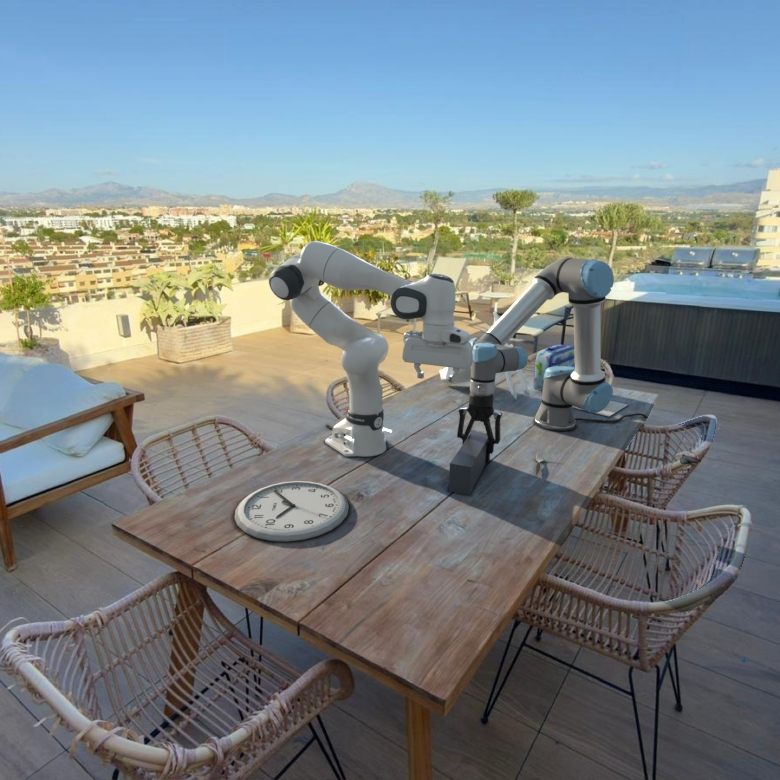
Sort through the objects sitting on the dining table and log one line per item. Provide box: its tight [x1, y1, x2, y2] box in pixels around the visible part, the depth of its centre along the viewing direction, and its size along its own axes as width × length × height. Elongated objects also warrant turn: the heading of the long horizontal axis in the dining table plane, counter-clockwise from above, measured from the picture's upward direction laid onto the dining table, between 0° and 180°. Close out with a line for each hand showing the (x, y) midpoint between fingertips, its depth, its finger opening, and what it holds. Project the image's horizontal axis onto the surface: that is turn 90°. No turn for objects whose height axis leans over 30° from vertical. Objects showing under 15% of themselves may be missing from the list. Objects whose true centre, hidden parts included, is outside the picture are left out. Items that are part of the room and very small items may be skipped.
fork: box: [535, 451, 546, 476], centre depth 168 cm, size 3×16×2 cm, turn 160°
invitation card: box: [573, 400, 629, 418], centre depth 226 cm, size 21×1×15 cm
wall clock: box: [234, 480, 350, 543], centre depth 140 cm, size 30×2×30 cm
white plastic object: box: [438, 310, 531, 400], centre depth 245 cm, size 37×45×31 cm
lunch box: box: [533, 344, 575, 392], centre depth 247 cm, size 26×11×21 cm, turn 134°
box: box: [447, 430, 489, 496], centre depth 161 cm, size 27×6×9 cm, turn 158°
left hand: (435, 380), depth 152 cm, fingers open, 8 cm apart
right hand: (476, 459), depth 171 cm, fingers closed on box, 6 cm apart
